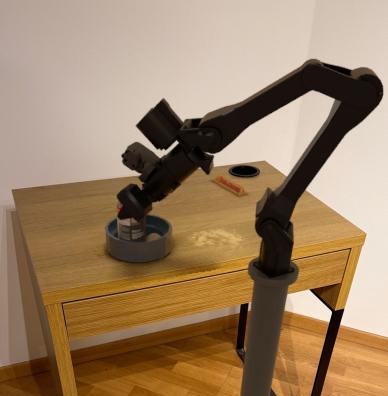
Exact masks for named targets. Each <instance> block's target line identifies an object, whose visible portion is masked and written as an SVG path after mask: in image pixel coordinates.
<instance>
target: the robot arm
mask: <svg viewBox="0 0 388 396" xmlns="http://www.w3.org/2000/svg"><path fill="white" fill-rule="evenodd" d="M312 91H313V92H316V93H319V94H322V95H324V96H326V97H329V98H331V99H333V103H332V106H331V108H330V111H329V113H328V116H327V118H326V119H325V121H324V122H323V124H322V125H321V126H320V128H319V130H318V131H317V132H316V134H315V135H314V137H313V138H312V139H311V141H310V142H309V144H308V146H307V147H306V148H305V150H304V151H303V153H302V154H301V156H300V157H299V158H298V160H297V161H296V163H295V164H294V166H293V167H292V169H291V170H290V172H289V173H288V174H287V176H286V177H285V179H284V180H283V181H282V183H281V184H280V185H279V186H278V187H276V189H274V190H272V189H271V188H270V187H269V186H268V187H266V188H265V191H264V193H263V195H262V197H261V198H260V199H259V200H258V201H256V204H255V214H254V218H255V220H254V230H255V233H256V234H257V236H258V237H259V238H261V241H260V246H259V252H258V253H259V254H258V257H259V261H255V262H253V265H254V266H255V267H256V268H257V269H259V270H260V271H261V272H262V273H264V274H265V275H266V276H267V277H269V278H274V277H277V276H281V275H284V274H288V273H292V272H295V268H293V267H292V266H291V265H290V262H291V261H292V256H293V251H294V244H295V237H294V236H295V235H294V234H295V233H294V223H293V222H292V221H291V219H292V216H293V213H294V211H295V208H296V206H297V203H298V201H299V199H301V198H302V196H303V194H304V193H305V192H306V190H307V189H308V187H309V185H311V183H312V182H313V180H315V178H316V176H317V175H318V174H319V173H320V171H321V169H322V168H323V167H324V165H326V163H327V161H328V160H329V159H330V157H331V156H332V154H333V153H334V151H335V150H336V149H337V147H338V146H339V145H340V143H341V142H342V141H343V139H344V138H345V137H346V135H347V134H348V133H349V132H350V131H352V130H353V129H355V128H356V127H358V126H359V125H360V124H361V123H362V122H364V121H365V120H366V119H367V118H368V117H369V116H370V114H372V113H373V112H374V111H375V110H376V109H377V108H378V106H379V105H380V104H381V103H382V101H383V97H384V95H385V94H384V85H383V82H382V80H381V78H380V77H379V76H378V74H377V73H376V72H375V71H374V70H373V69H372V68H369V67H367V66H360V67H357V68H353V69H351V68H347V67H344V66H341V65H336V64H332V63H328V62H324V61H321V60H320V59H317V58H309V59H306V61H304V62H303V63H302V64H301V65H300V66H298V67H297V68H295V69H293V70H291V71H290V72H288V73H286V74H284V75H283V76H281V77H280V78H279V79H277V80H275V81H274V82H273V81H272V83H270V84H268V85H266V86H265V87H263V88H262V89H260V90H258V91H257V92H255V93H253V94H251V95H250V96H248V97H247V98H245V99H243V100H241V101H240V102H236V103H233V104H229V105H225V106H222V107H220V108H219V107H218V108H217V109H214V110H212V111H209V112H207V113H206V114H205V115H203V116H202V117H194V118H193V117H191V118H185V119H184V120H182V119H181V117H180V116H179V115H178V114H177V113H176V112H175V110H174V109H173V108H172V107H171V105H170V103H169V102H168V100H167V99H166V98H164V97H163V98H161V100H159V102H157V103H156V105H154V106H153V107H151V108H150V109H149V110H148V111H147V112H146V113H145V114H144V115H143V116H142V118H141V119H140V120H139V121H138V122H137V123H136V125H135V128H136V129H138V131H139V132H140V133H141V134H142V135H143V136H144V137H145V138H146V139H147V141H148V142H149V143H150V144H151V145H152V146H153V147H154V148H155V149H156V151H158V150H159V151H163V150H164V151H167V150H169V149H170V148H171V147H172V146H173V145H174V144H175V143H176V142H177V144H176V145H175V146H174V147H173V148H171V149H170V150H169V151H168V152H167V153H165V154H163V156H161V157H159V155H157V154H156V152H154V151H153V150H152V149H150V148H149V147H147V146H145V145H144V144H143V143H141V142H140V141H134V142H132V143H131V144H129V145H128V146H126V149H125V150H124V152H123V153H122V154H121V155H120V157H121V159H122V160H121V163H122V165H123V166H125V167H126V168H127V169H129V170H130V171H131V172H134V171H135V172H136V173H137V174H139V176H138V177H137V178H138V180H139V181H140V182H141V183H142V184H140V186H139V185H138V184H137V183H129V184H127V185H126V186H124V187H123V188H122V189H121V190H120V191H119V192H117V194H116V200H117V201H119V202H120V203H121V204H122V205H123V206H122V207H121V209H120V211H119V213H118V215H117V214H116V217H118V218H119V219H120V220H124V219H129V218H134V220H135V221H138V222H139V221H140V220H141V219H142V218H143V217H145V216H146V215H147V214H150V213H151V212H152V211H153V204H154V203H156V202H159V203H160V202H162V201H164V200H165V199H166V198H167V197H168V196H169V195H172V194H173V192H175V191H176V190H177V189H179V187H180V186H182V183H184V182H185V181H186V180H187V179H189V177H190V176H192V175H193V174H194V173H195V172H196V171H198V170H199V169H200V170H202V171H203V172H204V174H205V175H206V176H209V175H211V172H212V170H213V169H214V166H215V165H214V164H215V163H214V159H215V154H216V155H217V154H218V153H221V152H222V151H223V150H225V149H226V148H227V147H228V146H229V145H231V144H232V143H233V142H235V140H237V138H239V137H240V135H241V134H242V133H244V132H245V130H247V129H248V128H249V127H250V126H253V125H254V124H256V123H258V122H260V121H261V120H262V119H264V118H266V117H268V116H269V115H271V114H273V113H275V112H277V111H279V110H280V109H282V108H284V107H285V106H288V105H289V104H290V103H292V102H294V101H296V100H297V99H300V98H301V97H303V96H304V95H306V94H308V93H310V92H312Z"/></svg>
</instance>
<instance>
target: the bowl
mask: <svg viewBox="0 0 388 396" xmlns="http://www.w3.org/2000/svg"><path fill="white" fill-rule="evenodd" d="M117 230H118V223H117V216H116V217H114V218H112V219H110V220H109V221H108V222H107V223H106V224H105V226H104V232H105V233H104V234H105V244H106V251H107V252H108V253H109V255H110V256H112V257H113V258H115V259H118V260H119V261H120V260H121V261H124V262H128V263H129V262H130V263H147V262H152V261H158V260H160V259H162V258H164V257H166V256H167V255H169V253H171V251H172V248H173V226H172V223H171V222H170V221H169V220H168V219H167V218H164V217H162V216H160V215H155V214H151V213H148V214H147V215H146V238H147V236H148V235H150V234H152V233H157V234H159V235H160V236H161V237H159V238H157V239H154V240H149V241H139V242H135V241H126V240H122V239H118V231H117Z"/></svg>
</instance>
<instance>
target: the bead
mask: <svg viewBox="0 0 388 396" xmlns="http://www.w3.org/2000/svg"><path fill="white" fill-rule="evenodd" d="M159 237H161V236H160V235H159V234H157V233H152V234H150V235H148V236H147V238H146V241H149V240H154V239H157V238H159Z"/></svg>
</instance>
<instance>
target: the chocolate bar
mask: <svg viewBox="0 0 388 396" xmlns="http://www.w3.org/2000/svg"><path fill="white" fill-rule="evenodd" d="M213 182H214V183H215V184H217V185H219V186H220V187H222V188H223V189H226V190H227V191H229V192H231V193H233V194H234V195H236V196H238V197H240V196H244V195H247V192H246V190H245V187H244V186H242V185H241V184H239V183H237V182H236V181H234V180H231V179H230V178H228V177H226V176H224V175H223V174H221V173H219V172H217V174H216V176H215V178H214V180H213Z"/></svg>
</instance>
